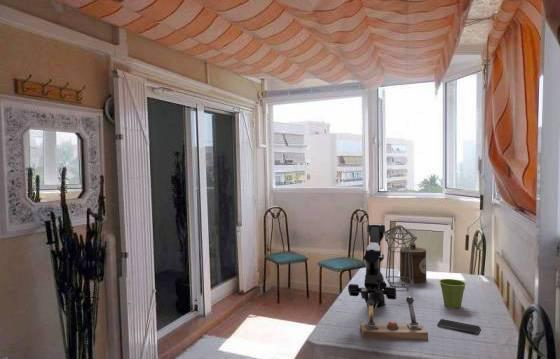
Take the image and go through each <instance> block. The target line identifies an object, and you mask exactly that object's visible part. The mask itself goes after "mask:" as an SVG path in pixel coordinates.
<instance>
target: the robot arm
mask: <svg viewBox="0 0 560 359" xmlns="http://www.w3.org/2000/svg"><path fill="white" fill-rule="evenodd" d="M366 228H367V229H366V230H367V231H366V232H367V233H368V237H369V243H368V245H367V246H366V249H365V251H364V252H363V257H362V258H363V261H364V264H365V275H364V282H363V283H364V287H363V286H362V287H360V286H359V284H356V283H355V284H354V283H349V284H348V286H347V287H348V288H347V290H348V291H347V292H348V294H349V297H359V296H361V299H363V300H364V301H365V303H366V307H367V310H368V312H369V305H368V303H367V300H368V299H370V298H371V299H373V300H374V302H375V303H374V305H373V313H375V311H376V309H377V308H378V309H379V308H381V307H384V306H386V305H387V303H386V302H385V298H386V299H388V300H397V291H396V290H397V288H395V287H396V286H395V287H394V286H393V287H392V286H391V287H390V286H387V283H386V281H385V280H384V274H382V272H381V263H382V262H383V260H384V258H385V254H384V253H383V252H382V246H381V242H382V240H383V239H384V238H385V235H384V233H385V232H386V226H385V224H383V223H373V222H372V223H370V224H367V226H366ZM385 295H386V296H385Z"/></svg>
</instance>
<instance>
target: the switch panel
mask: <svg viewBox="0 0 560 359" xmlns="http://www.w3.org/2000/svg"><path fill="white" fill-rule="evenodd" d="M410 323H411V322H396V321H393V320H391V321H388V322H375V325H369V324H368V322H359V330H360V332H361V335H362V338H363V339H377V340H378V339H381V340H384V339H385V340H389V339H390V340H429V333H428V331H427V329H426V328H424V326H423V324H422V323H421V322H418V325H410Z"/></svg>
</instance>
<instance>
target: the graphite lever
mask: <svg viewBox="0 0 560 359" xmlns="http://www.w3.org/2000/svg"><path fill="white" fill-rule="evenodd" d="M405 301H406V303H407V305H408V306H407V307H408V311H409V315H410V322H409V323H410V325H418V323H419V322H417V320H416V314H415V307H414V298H413V296H407V297H406V299H405Z"/></svg>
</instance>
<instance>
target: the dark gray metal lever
mask: <svg viewBox="0 0 560 359" xmlns="http://www.w3.org/2000/svg"><path fill="white" fill-rule="evenodd" d="M367 303H368V305H369V311H368V321H367V323H368V324H369V325H375V323H376V322H375V321H374V320H375V318H374V316H375V315H374V313H375V312H373V305H374V303H375V302H374V300H373V299H371V298H370V299H368V300H367Z"/></svg>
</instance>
